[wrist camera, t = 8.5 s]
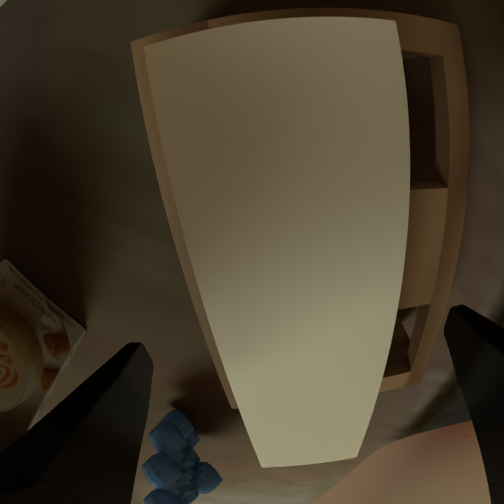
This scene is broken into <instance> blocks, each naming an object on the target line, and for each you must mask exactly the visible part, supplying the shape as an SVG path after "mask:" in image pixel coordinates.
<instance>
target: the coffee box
mask: <svg viewBox="0 0 504 504" xmlns="http://www.w3.org/2000/svg"><path fill="white" fill-rule="evenodd" d="M85 332H86V330H85V329H84V327H82V326H81V325H80V324H79V323H77V322H76V321H75V320H74V319H72V318H71V317H70V316H69V315H67V314H66V313H65V312H64V311H63V310H61V309H60V308H59V307H58V306H57V305H56V304H54V303H53V302H52V301H51V300H50V299H48V298H47V297H46V296H45V295H44V294H43V293H42V292H41V291H40V290H38V289H37V288H36V287H35V286H34V285H33V284H32V283H31V282H30V281H29V280H28V279H27V278H26V277H25V276H24V275H22V274H21V273H20V272H19V271H18V270H17V269H16V268H15V267H14V266H13V265H12V264H11V263H10V262H9V261H8V260H7V259H4V260H3V261H2V262H1V263H0V451H1V450H3V449H4V448H5V447H7V446H8V445H9V444H11V443H12V442H13V441H15V440H16V439H18V438H19V437H20V436H22V435H23V434H24V433H25V432H27V431H28V430H29V429H31V428H32V427H33V425H34V423H35V421H36V419H37V417H38V415H39V413H40V411H41V410H42V408H43V406H44V404H45V402H46V400H47V398H48V397H49V395H50V393H51V391H52V389H53V388H54V386H55V384H56V383H57V381H58V379H59V378H60V376H61V374H62V373H63V371H64V369H65V367H66V366H67V364H68V362H69V361H70V359H71V357H72V356H73V354H74V352H75V350H76V349H77V347H78V345H79V344H80V342H81V340H82V338H83V336H84V334H85Z"/></svg>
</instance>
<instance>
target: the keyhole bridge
mask: <svg viewBox="0 0 504 504" xmlns="http://www.w3.org/2000/svg"><path fill="white" fill-rule="evenodd" d="M298 17H358V18H373V19H384V20H393V21H395V22H396V26H397V31H398V37H399V42H400V48H401V54H402V59H404V60H405V59H410V58H415V57H426V58H429V62H430V70H431V78H432V87H433V98H434V112H435V135H436V169H435V180H428V181H410V198H409V218H408V232H407V243H406V253H405V262H404V270H403V278H402V285H401V292H400V298H399V304H398V310H399V309H405V308H410V307H415V306H419V308H418V312H417V317H416V321H415V325H414V329H413V333H412V337H411V341H410V339H409V337H408V335H407V333H406V331H405V329H404V327H403V325H402V322H401V320H400V318H399V316H398V317H396V321H395V326H394V331H393V336H392V341H391V345H390V350H389V354H388V358H387V362H386V366H385V370H384V374H383V378H382V382H381V385H380V389H379V392H383V391H388V390H392V389H396V388H401V387H405V386H409V385H413V384H417V383H420V382H421V380H422V377H423V375H424V372H425V370H426V367H427V365H428V362H429V359H430V357H431V354H432V351H433V348H434V345H435V342H436V339H437V336H438V333H439V330H440V327H441V324H442V321H443V317H444V314H445V310H446V307H447V303H448V299H449V296H450V292H451V288H452V284H453V279H454V275H455V270H456V266H457V261H458V256H459V250H460V245H461V239H462V232H463V226H464V218H465V210H466V201H467V191H468V178H469V156H470V122H469V101H468V88H467V78H466V70H465V62H464V55H463V49H462V43H461V38H460V33H459V28H458V25H457V24H453V23H449V22H445V21H441V20H437V19H432V18H427V17H422V16H416V15H411V14H404V13H397V12H389V11H381V10H370V9H356V8H294V9H280V10H269V11H260V12H252V13H245V14H238V15H232V16H226V17H221V18H216V19H211V20H206V21H201V22H197V23H193V24H189V25H185V26H181V27H177V28H174V29H170V30H166V31H163V32H160V33H157V34H153V35H150V36H147V37H144V38H141V39H138V40H136V41H133V42H131V47H132V54H133V61H134V67H135V73H136V79H137V85H138V90H139V96H140V101H141V106H142V111H143V116H144V121H145V126H146V131H147V136H148V140H149V145H150V149H151V154H152V158H153V162H154V167H155V171H156V175H157V179H158V183H159V187H160V191H161V195H162V199H163V203H164V207H165V210H166V214H167V218H168V222H169V225H170V229H171V232H172V236H173V239H174V243H175V246H176V250H177V253H178V257H179V260H180V263H181V267H182V270H183V273H184V276H185V280H186V283H187V286H188V289H189V292H190V295H191V298H192V302H193V305H194V308H195V311H196V314H197V317H198V320H199V322H200V325H201V328H202V331H203V334H204V337H205V340H206V343H207V345H208V348H209V351H210V354H211V356H212V359H213V362H214V365H215V367H216V370H217V373H218V375H219V378H220V380H221V383H222V386H223V388H224V391H225V393H226V396H227V398H228V401H229V403H230V406H231V408H232V409H239V408H238V405H237V403H236V400H235V397H234V394H233V392H232V389H231V386H230V383H229V380H228V378H227V375H226V372H225V369H224V366H223V363H222V360H221V357H220V354H219V351H218V348H217V345H216V342H215V339H214V336H213V333H212V330H211V327H210V324H209V321H208V317H207V314H206V311H205V308H204V305H203V301H202V298H201V295H200V291H199V288H198V285H197V281H196V278H195V274H194V271H193V267H192V264H191V260H190V257H189V253H188V250H187V246H186V242H185V239H184V235H183V231H182V227H181V224H180V220H179V216H178V212H177V208H176V204H175V200H174V196H173V192H172V188H171V183H170V179H169V175H168V171H167V166H166V162H165V157H164V153H163V148H162V144H161V139H160V134H159V130H158V125H157V120H156V115H155V110H154V104H153V99H152V94H151V88H150V83H149V77H148V71H147V65H146V59H145V52H144V47H145V46H148V45H151V44H154V43H157V42H161V41H164V40H167V39H171V38H175V37H178V36H182V35H186V34H190V33H194V32H199V31H203V30H208V29H212V28H217V27H223V26H228V25H234V24H240V23H247V22H254V21H263V20H272V19H283V18H298Z"/></svg>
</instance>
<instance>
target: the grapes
mask: <svg viewBox="0 0 504 504" xmlns="http://www.w3.org/2000/svg"><path fill="white" fill-rule="evenodd" d="M148 437H149V439H150V441H151V443H152V445H153V447H154V448H155V449H156V450H157V451H158V452H159V453H157V454H155V455H152V456H151V457H150V458H149V459H148V460H147V461H146V462H145V463H144V464H143V465H142V467H141V469H142V471H143V473H144V475H145V477H146V478H147V480H148V481H149V482H150V484H151V485H153V486H154V487H155V488H156V489H155V490H153V491H151V492H150V493H149V494H148V495H147V496H146V497H145V499H144V502H145V504H190V503H192V502H193V501H194V500H195V499H196V498H197V497H198V496H199V495H198V494H199V493H200V494H207V493H209V492H211V491H213V490H214V489H215V488H216V487H217V486H218V485H219V484H220V483H221V481H222V478H221V477H220V475H219V474H218V472H217V471H216V470H215V468H213V467H212V466H211V465H210V464H208V463H206V462H200V458H199V457H198V455H197V453H196V452H195V450H194V449H193V447H194V446H195V445H196V444H197V443H198V442H199V440H200V439H199V437H198V436H197V434H196V433H195V431H194V427H193V426H192V424H191V422H190V421H189V419H188V418H187V417H186V415H185V414H184V413H183V412H181V411H178V410H173V411H170V412H169V413H168V414H167V415H166V416H165V417H164V418H163V419H162V420H161V422H160V423H159V424H158V425H157V426H156V427H155V428H154V429H153V430H152V431H151V432H150V434H149V435H148Z"/></svg>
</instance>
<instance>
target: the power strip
mask: <svg viewBox="0 0 504 504" xmlns="http://www.w3.org/2000/svg"><path fill="white" fill-rule="evenodd" d="M144 52H145V59H146V65H147V71H148V77H149V83H150V88H151V94H152V99H153V104H154V110H155V115H156V120H157V125H158V130H159V134H160V139H161V144H162V148H163V153H164V157H165V162H166V166H167V171H168V175H169V179H170V183H171V188H172V192H173V196H174V200H175V204H176V208H177V212H178V216H179V220H180V224H181V227H182V231H183V235H184V239H185V242H186V246H187V250H188V253H189V257H190V260H191V264H192V267H193V271H194V274H195V278H196V281H197V285H198V288H199V291H200V295H201V298H202V301H203V305H204V308H205V311H206V314H207V317H208V321H209V324H210V327H211V330H212V333H213V336H214V339H215V342H216V345H217V348H218V351H219V354H220V357H221V360H222V363H223V366H224V369H225V372H226V375H227V378H228V380H229V383H230V386H231V389H232V392H233V394H234V397H235V400H236V403H237V405H238V408H239V411H240V413H241V416H242V419H243V421H244V424H245V427H246V429H247V432H248V434H249V437H250V439H251V442H252V444H253V447H254V449H255V452H256V454H257V457H258V459H259V462H260V464H261V466H262V467H282V466H295V465H306V464H315V463H323V462H330V461H337V460H343V459H349V458H355V457H357V455H358V452H359V450H360V447H361V444H362V441H363V439H364V436H365V433H366V430H367V427H368V424H369V421H370V418H371V415H372V412H373V409H374V406H375V402H376V399H377V396H378V392H379V389H380V385H381V382H382V378H383V374H384V370H385V366H386V362H387V358H388V354H389V350H390V345H391V341H392V336H393V331H394V326H395V321H396V316H397V310H398V304H399V298H400V292H401V285H402V278H403V270H404V262H405V253H406V243H407V232H408V218H409V198H410V137H409V118H408V104H407V93H406V84H405V75H404V68H403V61H402V54H401V48H400V42H399V37H398V31H397V26H396V22H395V21H393V20H384V19H373V18H358V17H298V18H283V19H272V20H263V21H254V22H247V23H240V24H234V25H228V26H223V27H217V28H212V29H208V30H203V31H199V32H194V33H190V34H186V35H182V36H178V37H175V38H171V39H167V40H164V41H161V42H157V43H154V44H151V45H148V46H145V47H144Z"/></svg>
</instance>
